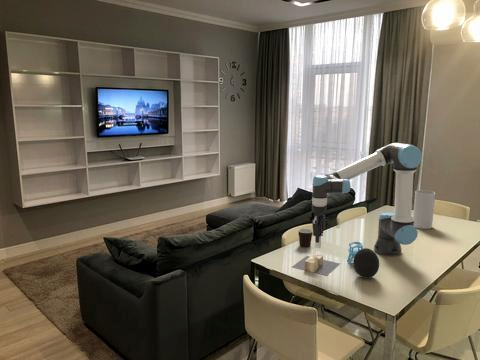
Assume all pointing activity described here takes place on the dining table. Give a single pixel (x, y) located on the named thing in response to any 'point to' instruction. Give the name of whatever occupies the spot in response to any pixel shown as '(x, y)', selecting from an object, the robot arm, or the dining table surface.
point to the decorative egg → (366, 263)
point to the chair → (353, 251)
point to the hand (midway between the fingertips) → (317, 247)
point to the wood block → (313, 263)
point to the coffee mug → (305, 237)
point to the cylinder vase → (423, 209)
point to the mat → (322, 270)
